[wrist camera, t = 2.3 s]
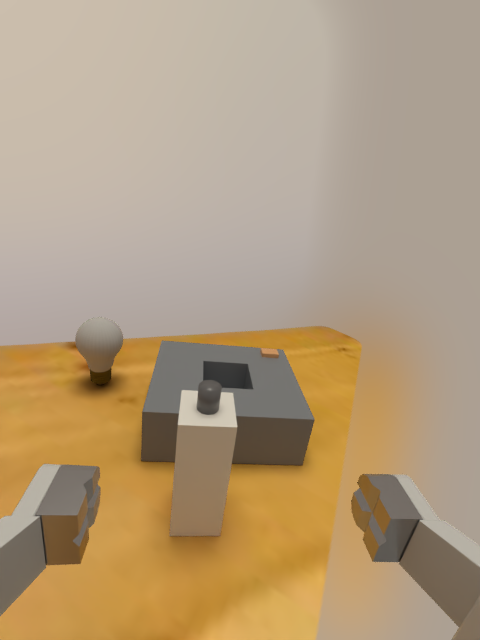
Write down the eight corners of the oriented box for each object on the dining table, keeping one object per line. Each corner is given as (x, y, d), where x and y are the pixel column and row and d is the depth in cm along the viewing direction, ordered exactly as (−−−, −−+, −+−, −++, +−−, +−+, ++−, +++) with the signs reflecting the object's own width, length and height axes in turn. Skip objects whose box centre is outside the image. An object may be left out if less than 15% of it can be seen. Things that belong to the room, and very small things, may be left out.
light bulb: (131, 382, 49) (132, 320, 45) (96, 401, 44) (94, 332, 40) (105, 368, 51) (103, 307, 47) (69, 384, 46) (64, 318, 43)
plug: (169, 536, 29) (179, 402, 23) (174, 492, 33) (183, 369, 28) (220, 535, 29) (240, 405, 24) (218, 492, 33) (235, 372, 28)
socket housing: (141, 461, 36) (142, 406, 33) (160, 379, 50) (162, 336, 48) (302, 465, 38) (315, 415, 36) (275, 385, 53) (283, 346, 50)
